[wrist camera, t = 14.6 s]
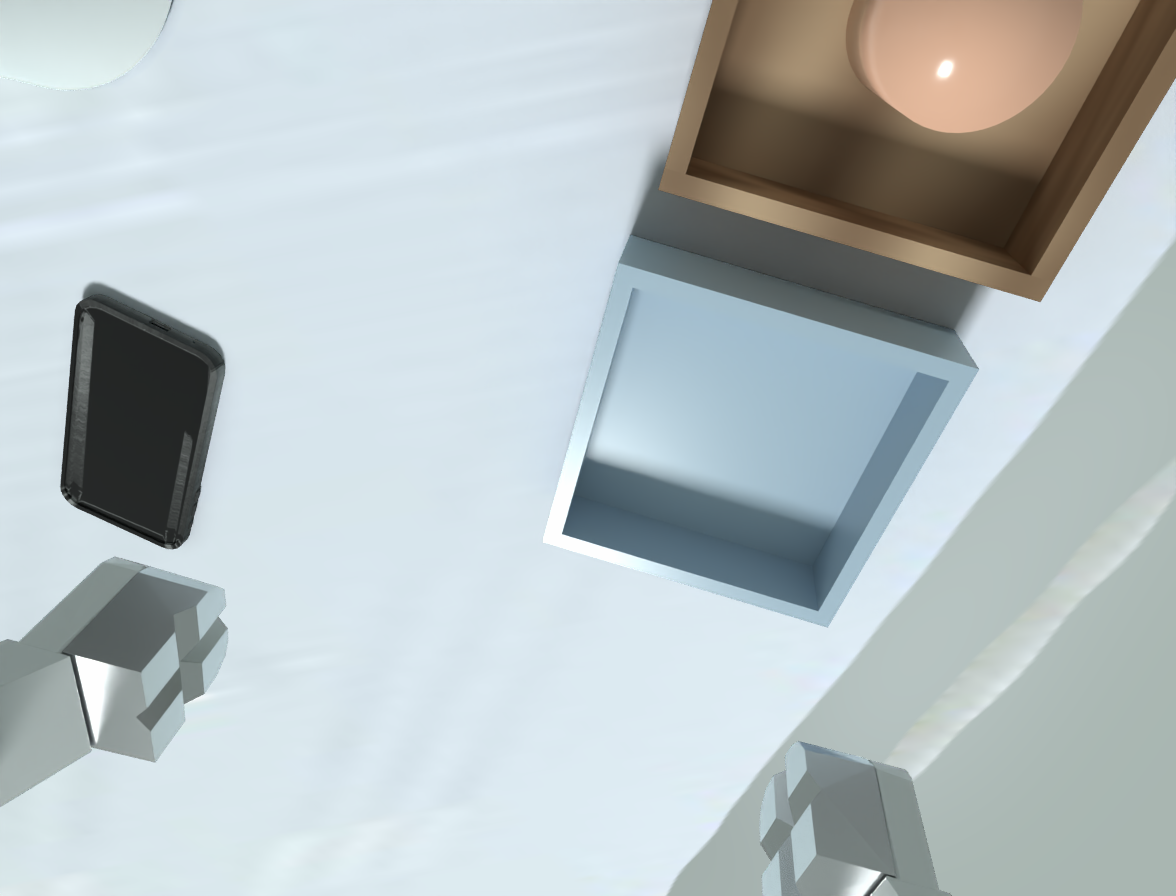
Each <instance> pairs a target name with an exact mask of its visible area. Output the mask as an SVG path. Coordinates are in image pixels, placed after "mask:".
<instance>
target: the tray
mask: <svg viewBox="0 0 1176 896" xmlns="http://www.w3.org/2000/svg"><path fill="white" fill-rule="evenodd" d="M853 2H854V0H713V1H712V4H711V8H710V11H709V15H708V18H707V22H706V25H705V29H704V32H703V36H702V39H701V43H700V46H699V50H698V53H697V57H696V60H695V63H694V67H693V70H692V74H691V77H690V81H689V84H688V88H687V91H686V95H685V98H684V102H683V105H682V109H681V112H680V116H679V119H678V123H677V126H676V130H675V133H674V137H673V140H672V144H671V147H670V151H669V154H668V158H667V161H666V165H665V168H664V172H663V175H662V179H661V182H660V186H659V189H658V190H660V191H664V192H667V193H671V194H674V195H677V196H681V197H684V198H688V199H691V200H694V201H698V202H701V203H705V204H708V205H711V206H715V207H718V208H722V209H725V210H728V211H732V212H735V213H739V214H742V215H745V216H749V217H752V218H756V219H759V220H763V221H766V222H769V223H773V224H776V225H780V226H783V227H786V228H790V229H793V230H797V231H800V232H803V233H807V234H810V235H814V236H817V237H820V238H824V239H827V240H831V241H834V242H837V243H841V244H844V245H848V246H851V247H854V248H858V249H861V250H865V251H868V252H871V253H875V254H878V255H882V256H885V257H888V258H892V259H895V260H899V261H902V262H906V263H909V264H912V265H916V266H919V267H923V268H926V269H929V270H933V271H936V272H940V273H943V274H946V275H950V276H953V277H957V278H960V279H963V280H967V281H970V282H974V283H977V284H980V285H984V286H987V287H991V288H994V289H997V290H1001V291H1004V292H1008V293H1011V294H1014V295H1018V296H1021V297H1025V298H1028V299H1032V300H1035V301H1038V302H1041V300H1042V299H1043V297H1044V295H1045V294H1046V292H1047V290H1048V289H1049V287H1050V285H1051V284H1052V282H1053V280H1054V279H1055V277H1056V275H1057V274H1058V272H1059V270H1060V269H1061V267H1062V266H1063V264H1064V262H1065V261H1066V259H1067V257H1068V256H1069V254H1070V252H1071V251H1072V249H1073V247H1074V246H1075V244H1076V242H1077V241H1078V239H1079V237H1080V236H1081V234H1082V232H1083V231H1084V229H1085V227H1086V226H1087V224H1088V222H1089V221H1090V219H1091V217H1092V216H1093V214H1094V212H1095V211H1096V209H1097V208H1098V206H1099V204H1100V203H1101V201H1102V199H1103V198H1104V196H1105V194H1106V193H1107V191H1108V189H1109V188H1110V186H1111V184H1112V183H1113V181H1114V179H1115V178H1116V176H1117V174H1118V173H1119V171H1120V169H1121V168H1122V166H1123V164H1124V163H1125V161H1126V159H1127V158H1128V156H1129V154H1130V153H1131V151H1132V149H1133V148H1134V146H1135V145H1136V143H1137V141H1138V140H1139V138H1140V136H1141V135H1142V133H1143V131H1144V130H1145V128H1146V126H1147V125H1148V123H1149V121H1150V120H1151V118H1152V116H1153V115H1154V113H1155V111H1156V110H1157V108H1158V106H1159V105H1160V103H1161V101H1162V100H1163V98H1164V96H1165V95H1166V93H1167V91H1168V90H1169V88H1170V87H1171V85H1172V83H1173V82H1174V80H1175V78H1176V0H1083V8H1082V17H1081V23H1080V28H1079V32H1078V35H1077V38H1076V42H1075V44H1074V46H1073V49H1072V51H1071V54H1070V56H1069V58H1068V59H1067V61H1066V63H1065V65H1064V67H1063V68H1062V70H1061V71H1060V73H1059V74H1058V76H1057V77H1056V78H1055V80H1054V81H1053V82H1052V84H1051V85H1050V86H1049V87H1048V88H1047V89H1046V90H1045V92H1044V93H1043V94H1042V95H1041V96H1039V97H1038V98H1037V99H1036V100H1035V101H1034V102H1033V103H1032V104H1030V105H1029V106H1028V107H1027V108H1025V109H1024V110H1023V111H1021V112H1020V113H1018V114H1016V115H1015V116H1013V117H1011V118H1010V119H1008V120H1006V121H1004V122H1002V123H999V124H997V125H995V126H992V127H989V128H986V129H982V130H978V131H973V132H965V133H946V132H940V131H935V130H932V129H929V128H926V127H923V126H921V125H919V124H917V123H915V122H913V121H912V120H911V119H909V118H908V117H906V116H905V115H903V114H902V113H900V112H899V111H898V110H896V109H895V108H893V107H892V106H890V105H889V104H888V103H886V102H885V101H883V100H882V99H880V98H879V97H877V96H876V95H875V94H873V93H872V92H870V91H869V90H868V89H867V88H866V87H865V86H864V85H863V84H862V83H861V82H860V81H859V79H858V78H857V77H856V75H855V73H854V71H853V70H852V68H851V65H850V62H849V59H848V55H847V50H846V27H847V21H848V17H849V13H850V10H851V7H852V5H853Z"/></svg>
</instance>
